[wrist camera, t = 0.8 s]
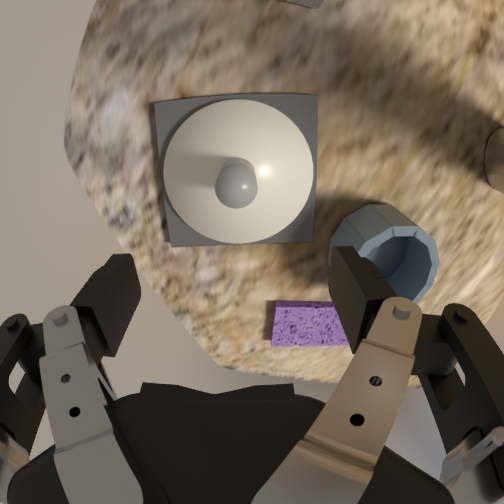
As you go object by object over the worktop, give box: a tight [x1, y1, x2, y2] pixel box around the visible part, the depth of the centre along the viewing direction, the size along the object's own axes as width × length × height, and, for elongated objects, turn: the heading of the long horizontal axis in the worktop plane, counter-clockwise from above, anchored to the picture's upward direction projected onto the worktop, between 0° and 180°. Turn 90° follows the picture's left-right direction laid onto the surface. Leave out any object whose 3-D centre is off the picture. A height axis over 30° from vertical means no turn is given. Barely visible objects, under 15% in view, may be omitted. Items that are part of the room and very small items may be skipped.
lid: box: [163, 99, 313, 243], centre depth 24 cm, size 14×14×6 cm
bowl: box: [327, 204, 439, 304], centre depth 28 cm, size 11×11×6 cm
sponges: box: [271, 300, 349, 347], centre depth 36 cm, size 7×13×2 cm, turn 86°
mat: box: [154, 94, 317, 247], centre depth 27 cm, size 15×15×1 cm
